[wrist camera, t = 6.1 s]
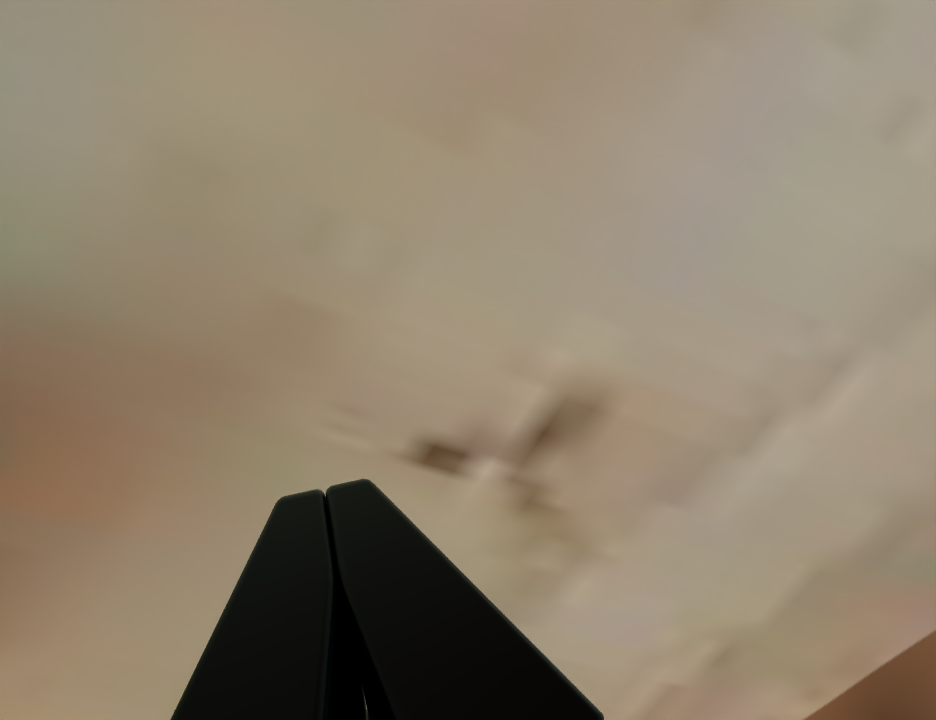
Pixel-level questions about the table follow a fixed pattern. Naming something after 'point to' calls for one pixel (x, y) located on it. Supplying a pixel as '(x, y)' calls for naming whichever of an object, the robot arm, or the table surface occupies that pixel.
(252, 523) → the table surface
